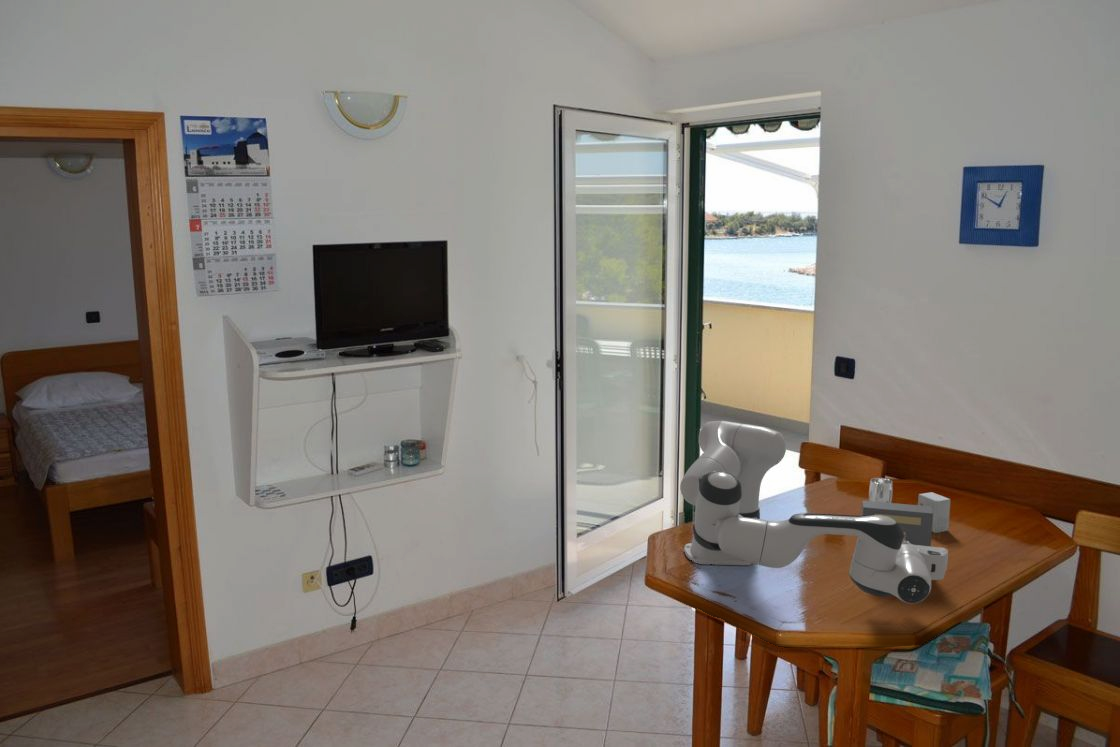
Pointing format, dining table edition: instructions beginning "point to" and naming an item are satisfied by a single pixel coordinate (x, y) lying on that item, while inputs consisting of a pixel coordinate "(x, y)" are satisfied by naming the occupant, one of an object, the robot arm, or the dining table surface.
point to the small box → (937, 510)
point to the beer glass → (880, 490)
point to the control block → (905, 519)
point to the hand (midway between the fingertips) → (902, 543)
